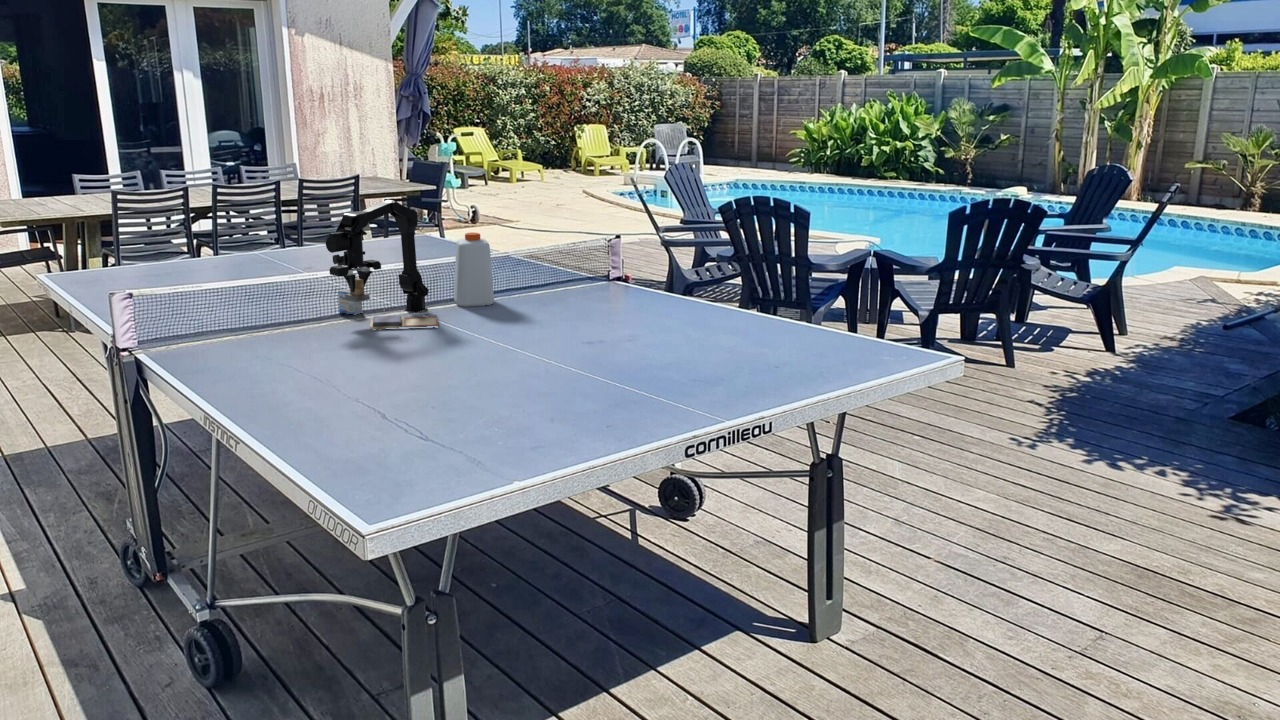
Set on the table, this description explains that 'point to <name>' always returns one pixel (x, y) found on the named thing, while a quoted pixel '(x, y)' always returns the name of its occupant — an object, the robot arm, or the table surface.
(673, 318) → the table surface
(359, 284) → the stamp
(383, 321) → the board
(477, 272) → the plastic bottle
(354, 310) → the medicine box
